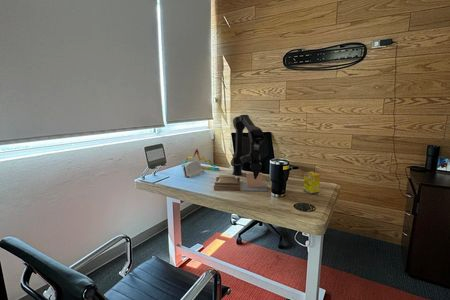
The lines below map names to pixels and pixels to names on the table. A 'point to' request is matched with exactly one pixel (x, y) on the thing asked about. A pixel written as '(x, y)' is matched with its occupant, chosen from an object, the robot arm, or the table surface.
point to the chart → (205, 161)
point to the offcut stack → (228, 179)
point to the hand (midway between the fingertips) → (254, 176)
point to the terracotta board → (254, 180)
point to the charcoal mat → (254, 187)
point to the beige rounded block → (192, 169)
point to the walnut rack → (227, 185)
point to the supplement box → (311, 182)
